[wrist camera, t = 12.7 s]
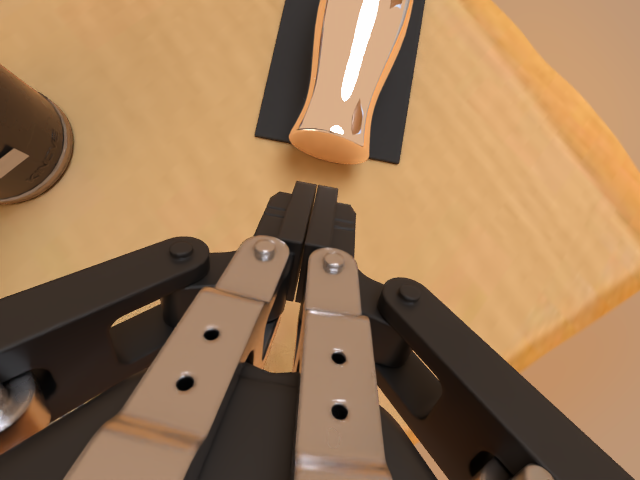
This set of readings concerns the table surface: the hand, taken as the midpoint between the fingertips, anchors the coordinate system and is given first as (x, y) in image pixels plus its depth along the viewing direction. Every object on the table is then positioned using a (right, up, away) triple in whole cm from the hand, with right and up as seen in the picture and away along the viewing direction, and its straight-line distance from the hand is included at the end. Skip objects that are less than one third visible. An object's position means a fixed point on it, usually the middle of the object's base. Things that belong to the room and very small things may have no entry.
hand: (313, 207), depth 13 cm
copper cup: (+1, +5, +13) cm, 14 cm away
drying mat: (+2, +14, +18) cm, 23 cm away
